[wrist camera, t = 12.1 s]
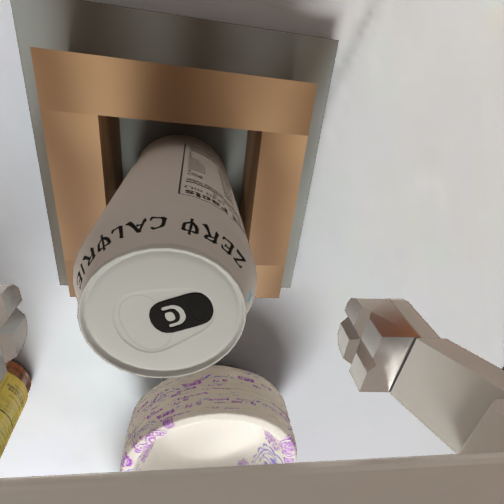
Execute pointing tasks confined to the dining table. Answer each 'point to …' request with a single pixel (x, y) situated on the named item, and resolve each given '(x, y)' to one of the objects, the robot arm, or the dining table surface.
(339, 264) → the dining table surface
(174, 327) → the energy drink can
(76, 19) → the socket holder
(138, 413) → the paper bowls
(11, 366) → the sauce bottle
